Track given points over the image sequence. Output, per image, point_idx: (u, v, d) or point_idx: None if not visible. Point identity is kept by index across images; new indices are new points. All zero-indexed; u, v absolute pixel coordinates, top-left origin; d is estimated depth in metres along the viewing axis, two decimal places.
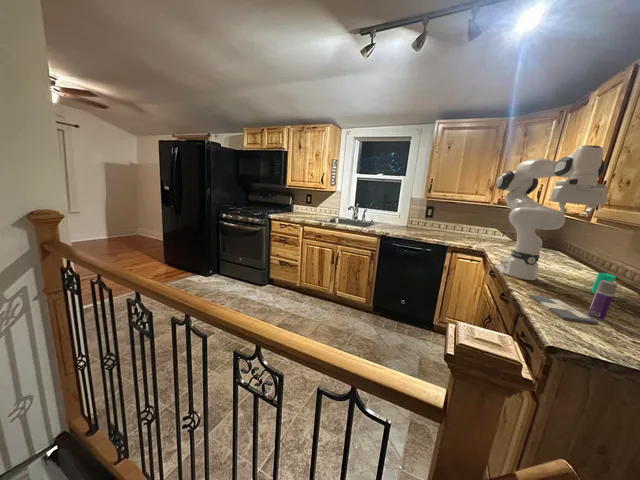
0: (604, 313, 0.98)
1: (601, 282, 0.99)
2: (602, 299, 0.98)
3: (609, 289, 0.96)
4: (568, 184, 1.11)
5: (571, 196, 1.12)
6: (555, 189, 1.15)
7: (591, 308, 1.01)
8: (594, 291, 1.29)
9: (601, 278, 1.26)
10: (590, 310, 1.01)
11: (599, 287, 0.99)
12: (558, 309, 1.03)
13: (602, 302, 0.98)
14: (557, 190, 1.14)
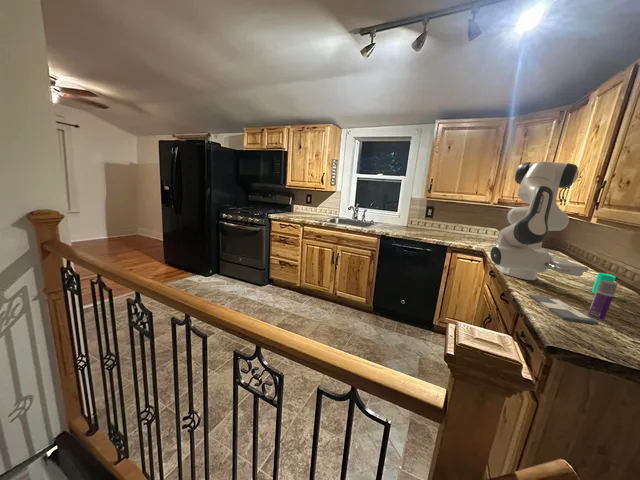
0: (604, 313, 0.98)
1: (601, 282, 0.99)
2: (602, 299, 0.98)
3: (609, 289, 0.96)
4: None
5: None
6: None
7: (591, 308, 1.01)
8: (594, 291, 1.29)
9: (601, 278, 1.26)
10: (590, 310, 1.01)
11: (599, 287, 0.99)
12: (558, 309, 1.03)
13: (602, 302, 0.98)
14: None
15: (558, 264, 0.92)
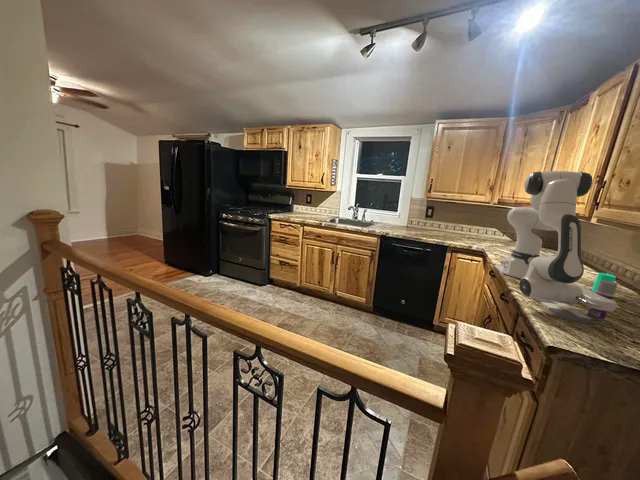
0: (604, 313, 0.98)
1: (601, 282, 0.99)
2: None
3: (609, 289, 0.96)
4: None
5: None
6: None
7: (591, 308, 1.01)
8: None
9: (601, 278, 1.26)
10: (590, 310, 1.01)
11: (599, 287, 0.99)
12: (558, 309, 1.03)
13: None
14: None
15: (590, 299, 0.93)
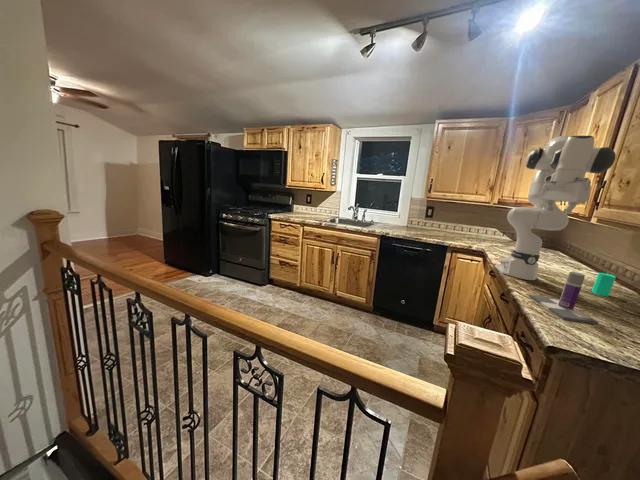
0: (572, 303, 1.02)
1: (570, 273, 1.02)
2: (571, 289, 1.02)
3: (577, 280, 1.00)
4: (545, 181, 1.09)
5: (550, 193, 1.07)
6: None
7: (561, 299, 1.05)
8: (594, 291, 1.29)
9: (601, 278, 1.26)
10: (560, 301, 1.05)
11: (568, 278, 1.03)
12: (558, 309, 1.03)
13: (571, 293, 1.02)
14: None
15: None
